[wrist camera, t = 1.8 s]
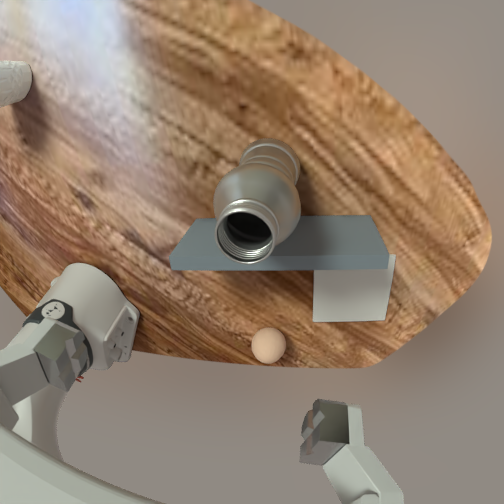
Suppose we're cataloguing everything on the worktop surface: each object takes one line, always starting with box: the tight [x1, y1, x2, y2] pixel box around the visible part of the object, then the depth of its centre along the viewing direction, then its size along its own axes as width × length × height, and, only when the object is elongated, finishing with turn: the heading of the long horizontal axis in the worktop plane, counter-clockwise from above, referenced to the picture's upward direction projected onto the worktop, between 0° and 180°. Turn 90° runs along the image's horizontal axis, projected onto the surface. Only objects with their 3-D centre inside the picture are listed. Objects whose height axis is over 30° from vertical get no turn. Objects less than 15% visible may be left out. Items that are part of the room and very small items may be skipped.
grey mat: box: [313, 254, 396, 322], centre depth 43 cm, size 11×11×1 cm
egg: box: [252, 327, 286, 363], centre depth 46 cm, size 5×5×6 cm
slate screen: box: [169, 215, 389, 270], centre depth 36 cm, size 6×22×10 cm, turn 95°
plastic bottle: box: [213, 138, 301, 265], centre depth 27 cm, size 6×7×20 cm
